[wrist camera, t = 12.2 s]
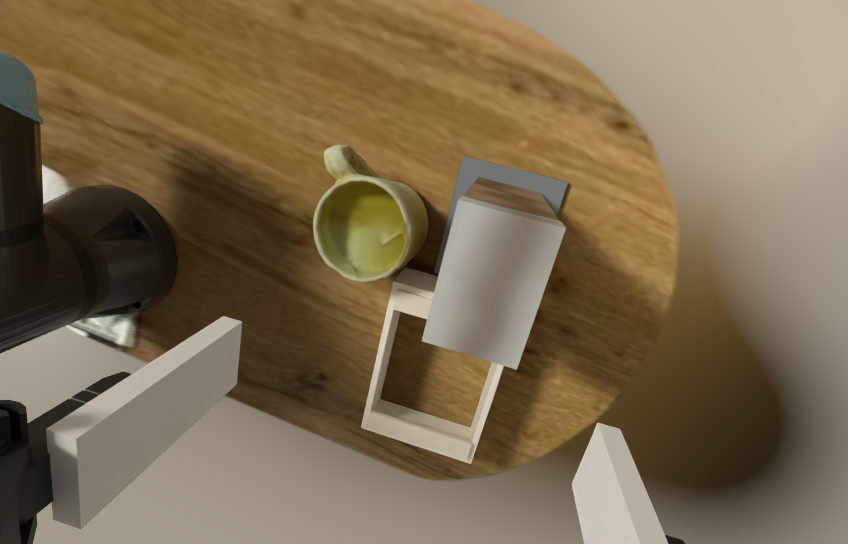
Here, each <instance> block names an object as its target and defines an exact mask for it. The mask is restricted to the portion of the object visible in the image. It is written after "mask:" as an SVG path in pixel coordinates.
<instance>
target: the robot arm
mask: <svg viewBox="0 0 848 544" xmlns="http://www.w3.org/2000/svg"><path fill="white" fill-rule="evenodd" d="M40 124H43V119H42V117H41V116H40V115H39V109H38V100H37V90H36V81H35V78H34V76H33V74H32V72H31V70H30V69H29V68H28V67H27V66H26V65H25V64H24V63H23V62H22V61H20V60H19V59H17V58H16V57H14V56H12V55H10V54H7V53H4V52H1V51H0V353H2V352H5V351H7V350H9V349H12V348H14V347H16V346H19V345H21V344H23V343H26V342H28V341H31V340H33V339H35V338H38V337H40V336H42V335H45V334H47V333H49V332H51V331H54V330H56V329H59V328H61V327H64V326H66V325H68V324H70V323H73V322H75V321H78V320H80V319H85V318H97V317H108V316H120V315H128V314H133V313H136V312H139V311H141V310H144V309H146V308H148V307H150V306H152V305H154V304H156V303H158V302H159V301H161V300H162V299H163V298H164V297H165V296H166V294H167V293H168V292H169V290H170V288H171V286H172V284H173V281H174V278H175V273H176V254H175V249H174V245H173V241H172V238H171V236H170V233H169V231H168V229H167V227H166V226H165V224H164V222H163V221H162V219H161V218H160V216H159V215H158V214H157V212H156V211H155V210H154V209H153V208H152V207H151V206H150V205H149V204H148V203H147V202H146V201H144V200H143V199H142V198H140V197H139V196H138V195H136V194H134V193H133V192H131V191H128V190H126V189H124V188H121V187H117V186H112V185H97V186H88V187H81V188H77V189H74V190H71V191H69V192H67V193H65V194H63V195H61V196H59V197H57V198H55V199H53V200H51V201H49V202H47V203H45V204H43V186H42V158H41V130H40ZM241 331H242V321H239V320H235V319H232V318H228V317H225V316H223V317H221V318H219V319H218V320H216V321H215V322H213V323H212V324H210V325H208V326H207V327H205V328H204V329H202V330H201V331H199V332H197V333H196V334H194V335H193V336H191V337H190V338H188V339H186V340H185V341H183V342H182V343H180V344H179V345H177V346H175V347H174V348H172V349H171V350H169V351H168V352H166V353H165V354H163V355H161V356H160V357H158V358H157V359H155V360H154V361H152V362H150V363H149V364H147V365H146V366H144V367H143V368H141V369H139V370H138V371H136V372H135V373H133V374H130V373H126V372H120V373H117V374H115V375H111V376H108V377H105V378H103V379H101V380H99V381H98V382H96V383H94V384H93V385H91V386H89V387H88V388H86V390H85V391H81V392H79V393H78V394H76V395H75V396H73V397H72V398H71V399H68V400H66V401H64V402H63V403H61V404H59V405H58V406H56V407H54V408H53V409H51V410H49V411H48V412H46V413H44V414H43V415H41V416H40V417H38V418H36V419H34V420H33V421H31V422H30V423H27V413H26V407H25V406H24V405H23V404H21V403H20V402H16V401H11V400H0V544H33V540H34V535H35V531H36V527H37V515H36V514H37V513H38V512H40V511H41V510H42V509H43V508H45V507H46V506H47V505H48V504H50V503H51V502H52V510H53V520H56V521H59V522H62V523H64V524H67V525H70V526H73V527H76V528H79V529H82V528H83V527H84V526H85V525H86V524H87V523H88V522H89V521H90V520H92V519H93V518H94V517H95V516H96V515H97V514H98V513H99V512H100V511H101V510H102V509H103V508H104V507H105V506H107V504H109V503H110V502H111V501H112V500H113V499H114V498H115V497H116V496H117V495H118V494H119V493H120V492H122V491H123V490H124V489H125V488H126V487H127V486H128V485H129V484H130V483H131V482H132V481H133V480H135V479H136V478H137V477H138V476H139V475H140V474H141V473H142V472H143V471H144V470H145V469H146V468H147V467H148V466H149V465H151V464H152V463H153V462H154V461H155V460H156V459H157V458H158V457H159V456H160V455H161V454H162V453H163V452H165V451H166V450H167V449H168V448H169V447H170V446H171V445H172V444H173V443H174V442H175V441H176V440H177V439H178V438H180V437H181V436H182V435H183V434H184V433H185V432H186V431H187V430H188V429H189V428H190V427H191V426H193V424H195V423H196V422H197V421H198V420H199V419H200V418H201V417H202V416H203V415H204V414H205V413H206V412H207V411H209V410H210V409H211V408H212V407H213V406H214V405H215V404H216V403H217V402H218V401H219V400H220V399H221V398H223V397H224V396H225V395H226V394H227V393H228V392H229V391H230V390H231V389H232V388H233V387H234V386H235V385H237V375H238V364H239V353H240V342H241ZM572 488H573V493H574V498H575V503H576V507H577V512H578V517H579V521H580V526H581V530H582V536H583V540H584V544H685V543H684V542H683V540H680V539H677V538H673V537H670V536H667V535H665V534H664V532H663V530H662V527H661V525H660V523H659V520H658V518H657V515H656V513H655V511H654V508H653V506H652V504H651V501H650V499H649V497H648V494H647V492H646V489H645V487H644V485H643V482H642V480H641V478H640V475H639V473H638V470H637V468H636V466H635V463H634V461H633V459H632V456H631V454H630V451H629V449H628V447H627V444H626V442H625V440H624V437H623V435H622V433H621V430H620V429H618V428H615V427H611V426H608V425H604V424H601V423H597V425H596V428H595V431H594V433H593V435H592V437H591V440H590V442H589V444H588V447H587V449H586V452H585V454H584V456H583V459H582V461H581V464H580V466H579V468H578V471H577V473H576V475H575V478H574V480H573V483H572Z"/></svg>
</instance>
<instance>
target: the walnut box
mask: <svg viewBox="0 0 848 544" xmlns="http://www.w3.org/2000/svg"><path fill="white" fill-rule="evenodd" d="M565 230H566V227H565V226H564V225H563V223H562V222H560V221H559V219H558V218H557V216H556V215H555V213H554V212H553V210H552V209H551V208H550V206H549V205H548V203H547V202H546V200H545V199H544V197H543V196H542V194H541V193H539V192H536V191H532V190H528V189H524V188H520V187H516V186H512V185H508V184H504V183H500V182H496V181H493V180H489V179H485V178H481V177H478V178H477V179H476V181H475V182H474V183H473V184H472V186H471V187H470V188H469V189H468V190H467V192H466V193H465V194H464V195H463V196H461V197H460V198H459V199H458V202H457V206H456V210H455V214H454V218H453V221H452V225H451V229H450V233H449V237H448V241H447V245H446V249H445V252H444V256H443V260H442V264H441V268H440V272H439V276H438V279H437V283H436V287H435V291H434V295H433V299H432V303H431V307H430V310H429V314H428V318H427V322H426V326H425V330H424V334H423V337H422V341H423V342H426V343H429V344H433V345H436V346H439V347H443V348H446V349H449V350H453V351H456V352H459V353H463V354H466V355H469V356H473V357H476V358H479V359H483V360H486V361H489V362H493V363H496V364H499V365H503V366H506V367H509V368H513V369H516V370H517V368H518V365H519V362H520V359H521V356H522V353H523V351H524V348H525V345H526V342H527V339H528V336H529V333H530V330H531V328H532V325H533V322H534V319H535V316H536V313H537V310H538V307H539V305H540V302H541V299H542V296H543V293H544V290H545V287H546V284H547V282H548V279H549V276H550V273H551V270H552V267H553V264H554V261H555V259H556V256H557V253H558V250H559V247H560V244H561V241H562V239H563V236H564V233H565Z"/></svg>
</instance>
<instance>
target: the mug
mask: <svg viewBox="0 0 848 544" xmlns="http://www.w3.org/2000/svg"><path fill="white" fill-rule="evenodd" d="M324 160H325V166H326V169H327V171H328V174H329V176H330V177H331V178H332V179H333V180H334V181H335V185H334V186H333V187H332V188H330V189H329V190H328V191H327V192H326V193H325V194H324V195H323V196H322V198H321V199H320V201H319V203H318V205H317V208H316V210H315V214H314V219H313V232H314V240H315V244H316V246H317V250H318V252H319V254H320V255H321V257H322V258H323V260H324V261H325V263H326V264H327V265H328V266H329V267H331V268H333V269H334V270H336V271H337V272H339V273H340V274H341V275H342V276H343V277H345V278H348V279H350V280H353V281H357V282H373V281H377V280H382V279H384V278H386V277H389V276H391V275H392V274H394V273H396V272H397V271H398V270H400V269H401V268H402V267H404V266H405V265H406V264H407V263H408V262H409V261H410V260H411V259H412V258H414V257H415V256H416V255H417V254H418V253H419V251H420V250H421V249H422V247H423V246H424V244H425V242H426V239H427V234H428V215H427V211H426V208H425V206H424V203H423V202H422V200H421V198H420V197H419V195H418V194H417V193H416V192H415V191H414V190H413V189H412V188H410V187H409V186H407V185H405V184H403V183H401V182H396V181H392V180H387V179H383V178H381V177H380V176H379V175H378V174H376V173H375V172H374V171H373V170H372V169H371V168H370V167H368V166H367V164H366V162H365V161H364V160H363V159H362V157H361V156H360V155H358V154H357V153H356V152H355V151H354V150H353V149H352V148H351V147H350V146H348V145H334V146H332V147H330V148H328V149H326V150H325V151H324Z"/></svg>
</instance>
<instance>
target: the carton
mask: <svg viewBox="0 0 848 544" xmlns="http://www.w3.org/2000/svg"><path fill="white" fill-rule="evenodd" d="M437 279H438V276H435V275H431V274H428V273H424V272H421V271H417V270H414V269H410V268H407V267H405V268H404V269H403V270H402V272H401V273H400V274H399V275H398V276H397V278H396V279H395V280H394V281H393V286H392V290H391V295H390V299H389V304H388V308H387V313H386V317H385V322H384V326H383V331H382V335H381V339H380V344H379V348H378V353H377V357H376V362H375V366H374V371H373V375H372V380H371V384H370V389H369V393H368V398H367V402H366V407H365V411H364V416H363V420H362V425H361V428H362V429H365V430H369V431H372V432H375V433H378V434H381V435H384V436H387V437H390V438H393V439H396V440H399V441H402V442H405V443H408V444H411V445H414V446H417V447H420V448H424V449H427V450H430V451H433V452H436V453H439V454H442V455H445V456H448V457H451V458H454V459H457V460H460V461H463V462H466V463H469V464H471V462H472V459H473V456H474V453H475V450H476V447H477V444H478V441H479V438H480V436H481V433H482V430H483V427H484V424H485V421H486V418H487V415H488V412H489V410H490V408H491V405H492V402H493V399H494V396H495V393H496V390H497V387H498V384H499V381H500V376H501V373H502V370H503V367H504V366H503V365H499V364H496V363H493V362H492V364H491V367H490V370H489V373H488V376H487V379H486V382H485V385H484V388H483V391H482V394H481V397H480V401H479V404H478V407H477V410H476V413H475V416H474V419H473V422H472V425H471V428H470V427H467V426H464V425H460V424H457V423H454V422H451V421H448V420H445V419H442V418H438V417H435V416H432V415H429V414H426V413H423V412H420V411H416V410H413V409H410V408H407V407H404V406H401V405H398V404H394V403H391V402H388V401H385V400H382V399H380V397H381V393H382V388H383V384H384V380H385V376H386V371H387V367H388V363H389V359H390V354H391V350H392V346H393V342H394V337H395V333H396V329H397V325H398V320H399V316H400V312H404V313H407V314H410V315H414V316H417V317H421V318H424V319H427V318H428V314H429V310H430V307H431V303H432V299H433V295H434V291H435V287H436V283H437Z"/></svg>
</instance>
